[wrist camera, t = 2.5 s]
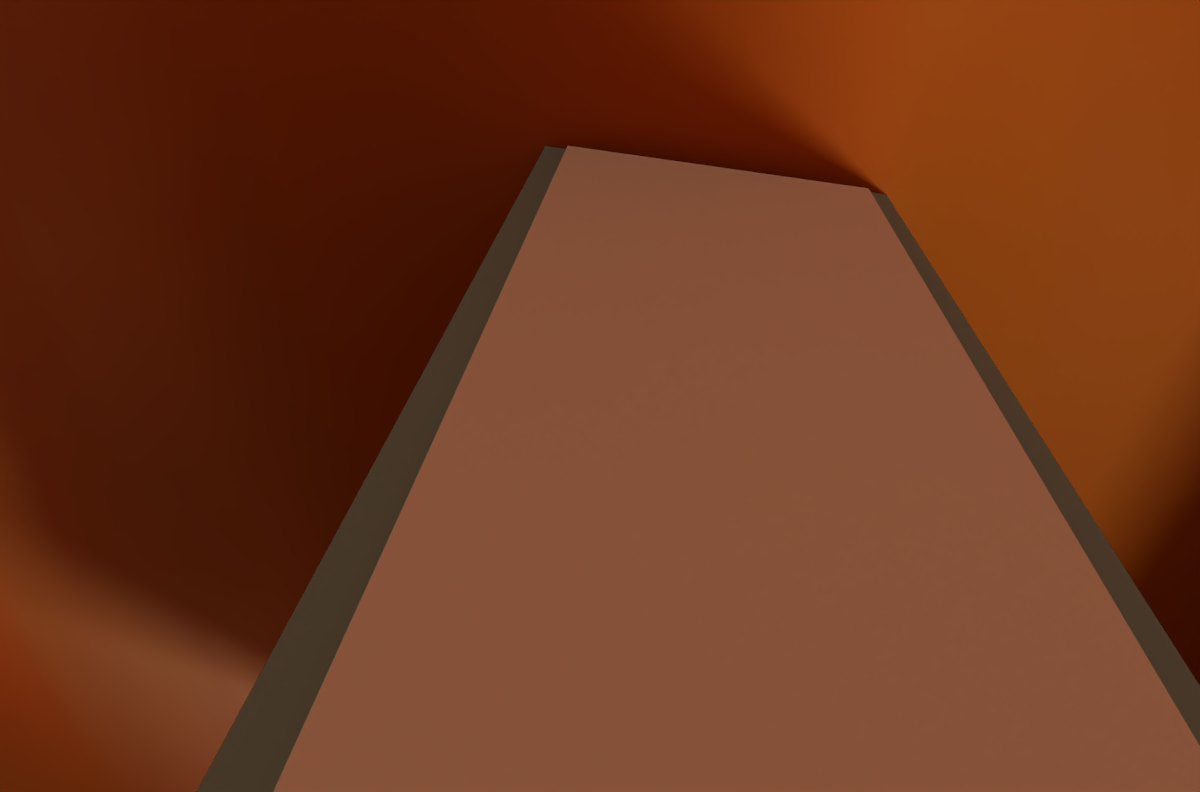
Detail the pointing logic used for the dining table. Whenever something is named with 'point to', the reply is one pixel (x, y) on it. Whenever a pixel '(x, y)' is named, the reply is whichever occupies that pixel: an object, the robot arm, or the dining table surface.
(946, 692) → the teal book
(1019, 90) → the dining table surface
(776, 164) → the dining table surface
